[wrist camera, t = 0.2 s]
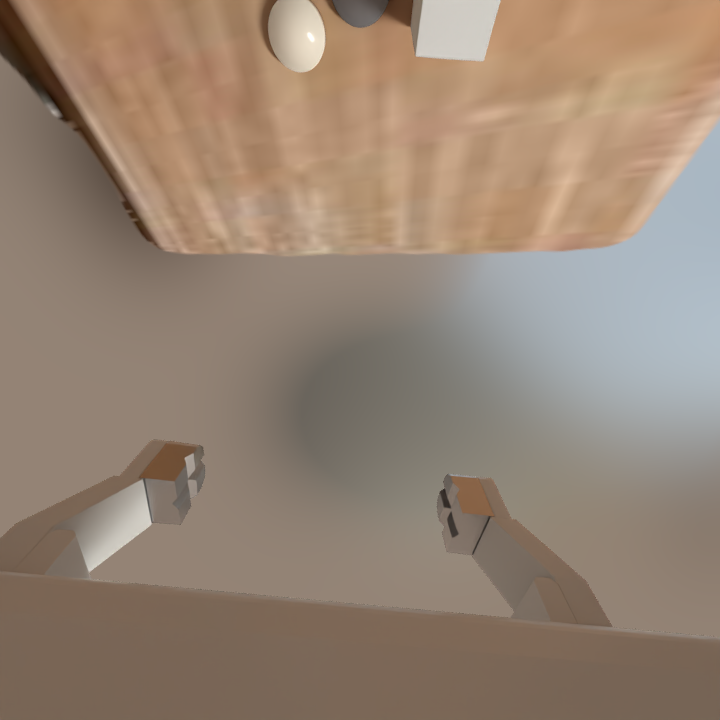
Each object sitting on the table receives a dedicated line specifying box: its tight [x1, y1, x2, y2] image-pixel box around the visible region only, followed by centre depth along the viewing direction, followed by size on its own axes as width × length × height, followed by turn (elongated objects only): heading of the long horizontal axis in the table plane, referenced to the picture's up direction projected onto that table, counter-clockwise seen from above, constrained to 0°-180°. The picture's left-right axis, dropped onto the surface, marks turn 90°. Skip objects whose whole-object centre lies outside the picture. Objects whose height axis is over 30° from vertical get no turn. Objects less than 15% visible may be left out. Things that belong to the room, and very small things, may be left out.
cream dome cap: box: [268, 0, 326, 72], centre depth 42 cm, size 7×7×1 cm
